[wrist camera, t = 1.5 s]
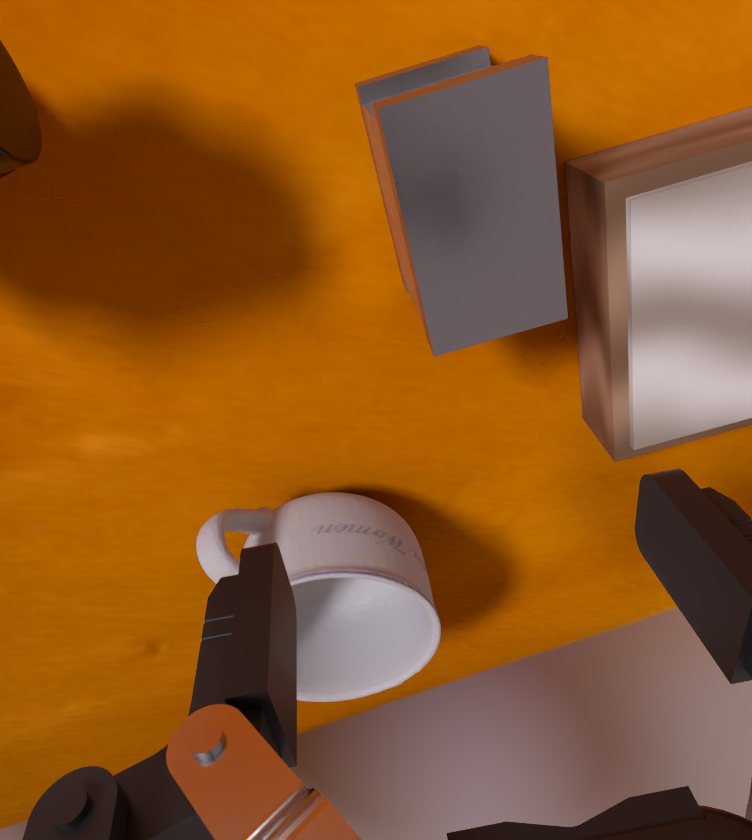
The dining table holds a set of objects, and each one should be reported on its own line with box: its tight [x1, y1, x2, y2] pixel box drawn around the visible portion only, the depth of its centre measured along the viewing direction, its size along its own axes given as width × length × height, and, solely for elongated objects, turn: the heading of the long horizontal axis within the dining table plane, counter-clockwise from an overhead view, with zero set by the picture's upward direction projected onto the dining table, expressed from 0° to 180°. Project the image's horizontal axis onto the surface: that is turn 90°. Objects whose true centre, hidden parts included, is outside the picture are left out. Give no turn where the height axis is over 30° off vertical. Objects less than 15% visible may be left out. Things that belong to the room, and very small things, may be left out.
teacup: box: [196, 492, 441, 702], centre depth 33 cm, size 14×11×8 cm
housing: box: [355, 46, 568, 356], centre depth 23 cm, size 8×5×8 cm, turn 15°
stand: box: [565, 107, 752, 462], centre depth 28 cm, size 14×11×4 cm
